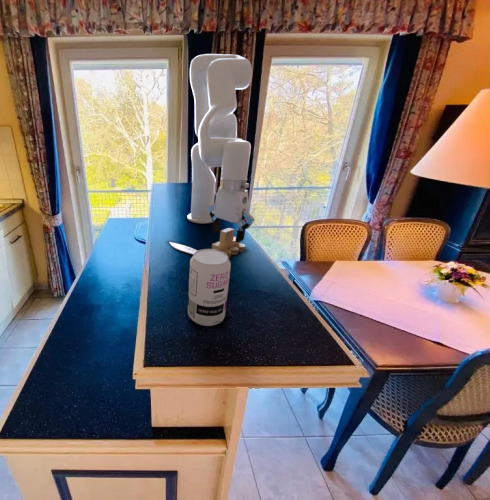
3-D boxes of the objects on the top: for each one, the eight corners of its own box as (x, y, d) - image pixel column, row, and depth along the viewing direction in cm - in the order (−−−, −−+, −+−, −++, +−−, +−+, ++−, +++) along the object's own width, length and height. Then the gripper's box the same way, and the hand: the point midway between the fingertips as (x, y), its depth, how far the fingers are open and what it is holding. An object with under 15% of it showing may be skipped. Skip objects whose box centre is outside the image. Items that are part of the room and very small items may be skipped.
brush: (231, 244, 98) (233, 225, 95) (239, 246, 96) (241, 227, 93) (211, 252, 92) (212, 232, 89) (219, 255, 90) (220, 235, 87)
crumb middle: (232, 249, 94) (232, 245, 93) (240, 252, 92) (240, 248, 91) (226, 252, 92) (226, 248, 91) (234, 255, 90) (234, 251, 89)
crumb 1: (225, 252, 92) (225, 248, 91) (232, 256, 89) (233, 251, 89) (218, 255, 90) (218, 251, 89) (226, 259, 88) (226, 254, 87)
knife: (168, 239, 100) (188, 236, 102) (168, 244, 100) (188, 241, 102) (205, 279, 73) (231, 274, 75) (204, 284, 74) (231, 279, 76)
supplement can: (199, 300, 68) (203, 244, 62) (231, 314, 63) (238, 254, 57) (180, 317, 62) (182, 257, 56) (212, 333, 58) (218, 270, 51)
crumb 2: (238, 246, 96) (239, 242, 95) (246, 249, 94) (247, 245, 93) (233, 249, 94) (233, 245, 94) (241, 252, 92) (241, 248, 91)
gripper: (265, 187, 80) (256, 241, 88) (218, 178, 93) (214, 226, 100) (250, 191, 76) (242, 248, 84) (203, 181, 88) (200, 231, 96)
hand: (227, 236), depth 92 cm, fingers open, 9 cm apart
